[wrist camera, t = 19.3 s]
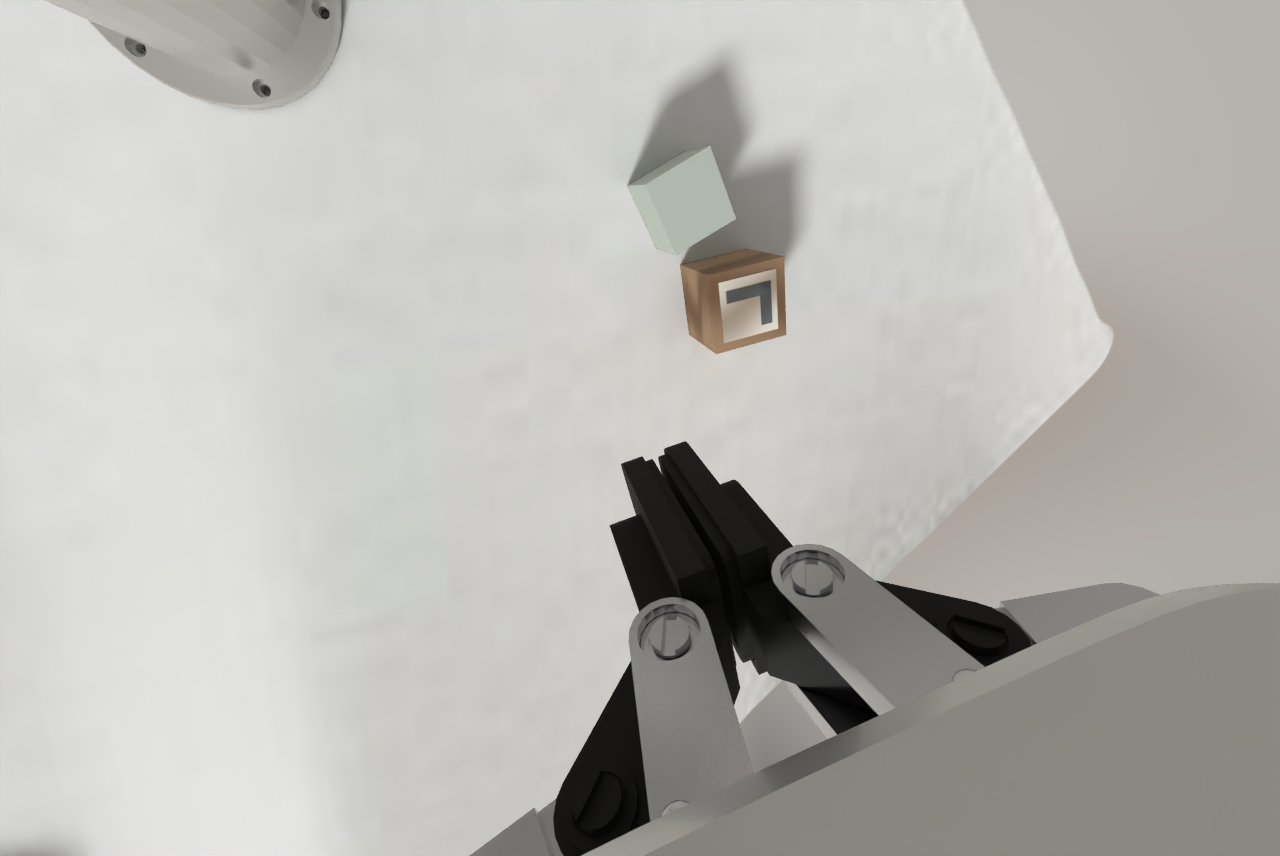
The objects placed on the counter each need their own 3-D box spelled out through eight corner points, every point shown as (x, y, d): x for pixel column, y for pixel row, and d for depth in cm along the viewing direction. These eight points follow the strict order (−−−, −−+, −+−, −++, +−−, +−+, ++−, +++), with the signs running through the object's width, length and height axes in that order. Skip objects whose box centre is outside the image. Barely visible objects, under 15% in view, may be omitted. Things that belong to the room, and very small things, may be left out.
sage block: (626, 186, 35) (645, 184, 31) (683, 151, 35) (710, 145, 31) (655, 248, 38) (676, 255, 33) (708, 216, 38) (736, 218, 33)
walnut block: (784, 256, 34) (746, 248, 40) (708, 275, 33) (679, 264, 39) (786, 335, 37) (750, 318, 43) (717, 354, 36) (688, 334, 42)
